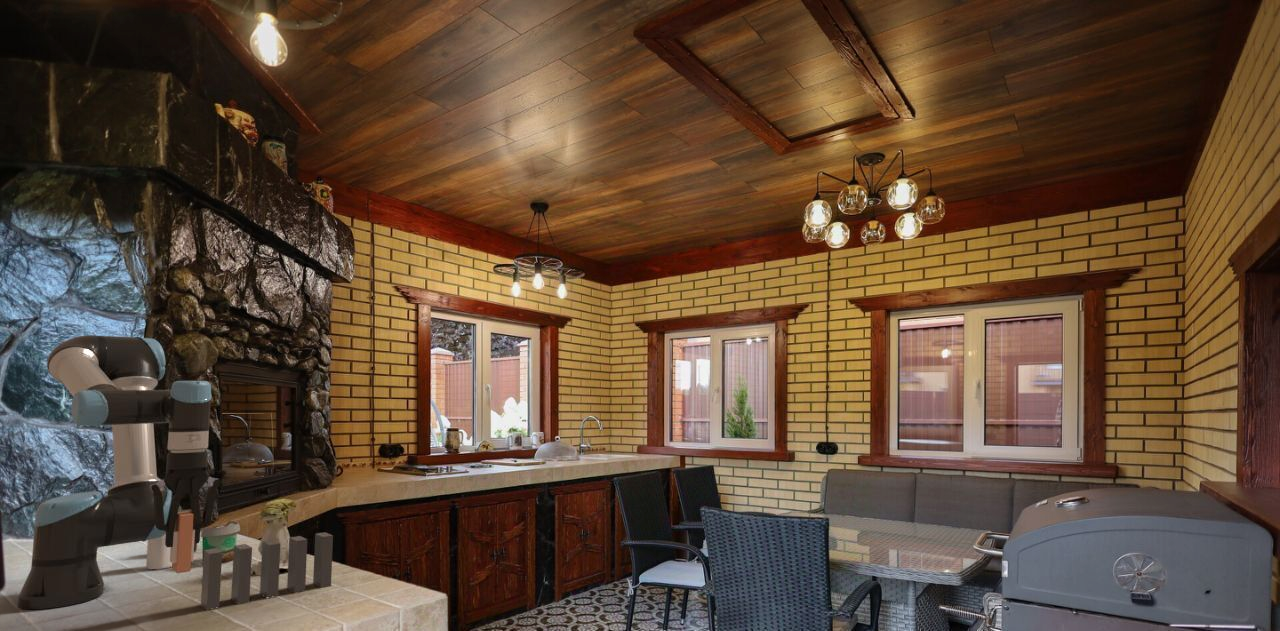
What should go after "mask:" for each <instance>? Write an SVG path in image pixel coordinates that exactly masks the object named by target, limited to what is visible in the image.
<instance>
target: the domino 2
mask: <svg viewBox="0 0 1280 631" xmlns="http://www.w3.org/2000/svg"><path fill="white" fill-rule="evenodd" d="M221 581H222V552H221V551H220V550H218V549H217V548H214V549H207V550H204V559H203V558H202V578H201V595H200V606H201V605H202V606H203V607H204V608H206V609H211V608H216V607H219V608H220V599H221V598H220V597H221V583H222V582H221ZM202 606H201V607H202ZM203 607H202V608H203ZM204 608H203V609H204Z"/></svg>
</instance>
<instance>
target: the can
mask: <svg viewBox="0 0 1280 631" xmlns="http://www.w3.org/2000/svg"><path fill="white" fill-rule="evenodd" d="M165 538H166V534H165V535H164V536H162V537H160V538H156V539H150V540H147V550H146V564H145V566H146V569H147V570H148V569H161V570H164V569H163V568H167V569H169V568H168V567H170V568H172V567H171V566H172V563H171V562H170V548H171V547H166V545H165Z"/></svg>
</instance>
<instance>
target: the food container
mask: <svg viewBox="0 0 1280 631" xmlns="http://www.w3.org/2000/svg"><path fill="white" fill-rule="evenodd" d="M201 529H202V530H201V532H200V538H201V539H202V542H201V543H202V544H201V546H202V547H201V548H202V560H203V559H204V550H207V549H214V548H217V549H218V550H220V551H221V552H222V564H227V563H230V562H233V555H234V546H235V545H237V538H238V532H240V531H241V526H240V524H239V521H236V520H227V523H225V524H224V525H217V526H214V527H213V528H212V527H211V528H201Z"/></svg>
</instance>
